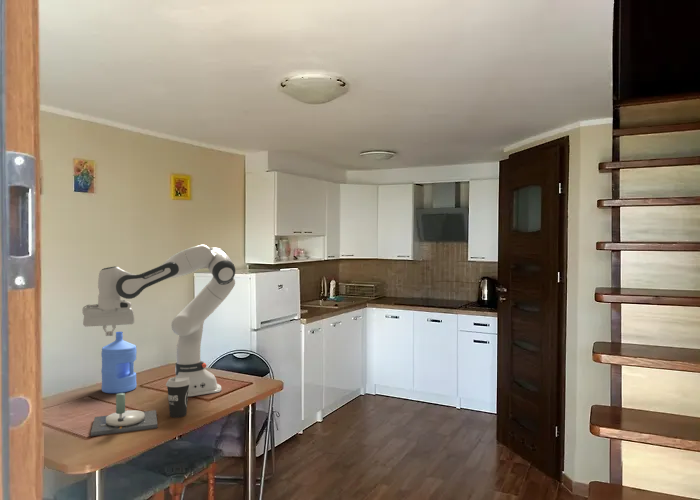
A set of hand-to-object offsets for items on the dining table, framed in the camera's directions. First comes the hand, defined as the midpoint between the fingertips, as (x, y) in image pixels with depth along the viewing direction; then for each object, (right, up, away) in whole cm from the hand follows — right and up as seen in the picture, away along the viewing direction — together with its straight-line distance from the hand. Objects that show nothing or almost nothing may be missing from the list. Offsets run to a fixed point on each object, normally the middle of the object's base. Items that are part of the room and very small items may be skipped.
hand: (109, 335), depth 223 cm
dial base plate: (+16, -31, -21) cm, 41 cm away
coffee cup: (+33, -32, -10) cm, 47 cm away
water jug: (-8, -31, +27) cm, 42 cm away
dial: (+16, -30, -21) cm, 40 cm away
